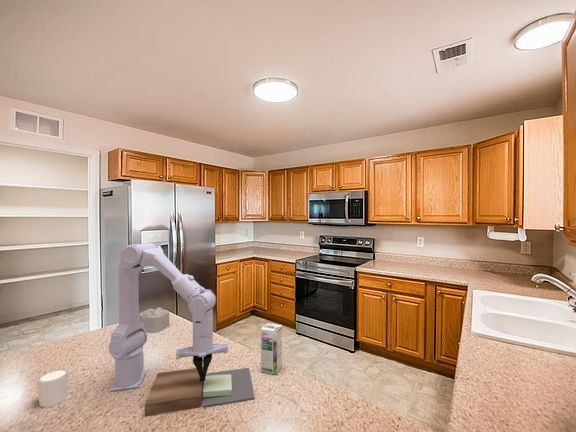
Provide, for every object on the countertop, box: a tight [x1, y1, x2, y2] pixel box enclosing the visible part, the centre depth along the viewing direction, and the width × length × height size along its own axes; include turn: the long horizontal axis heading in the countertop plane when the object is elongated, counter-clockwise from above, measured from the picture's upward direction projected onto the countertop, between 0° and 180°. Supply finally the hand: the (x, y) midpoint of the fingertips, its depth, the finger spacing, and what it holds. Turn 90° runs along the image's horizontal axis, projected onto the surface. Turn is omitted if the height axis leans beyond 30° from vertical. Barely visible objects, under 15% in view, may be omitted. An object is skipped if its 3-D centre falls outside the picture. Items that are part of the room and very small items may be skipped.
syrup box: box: [260, 323, 283, 376], centre depth 92 cm, size 6×6×14 cm
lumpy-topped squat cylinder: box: [139, 307, 170, 334], centre depth 127 cm, size 10×13×9 cm
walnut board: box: [144, 367, 204, 417], centre depth 79 cm, size 15×14×3 cm
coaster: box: [202, 374, 232, 398], centre depth 80 cm, size 8×8×2 cm
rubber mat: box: [202, 367, 256, 409], centre depth 82 cm, size 16×14×1 cm
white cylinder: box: [36, 368, 70, 408], centre depth 76 cm, size 7×7×7 cm
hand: (202, 379), depth 79 cm, fingers closed
